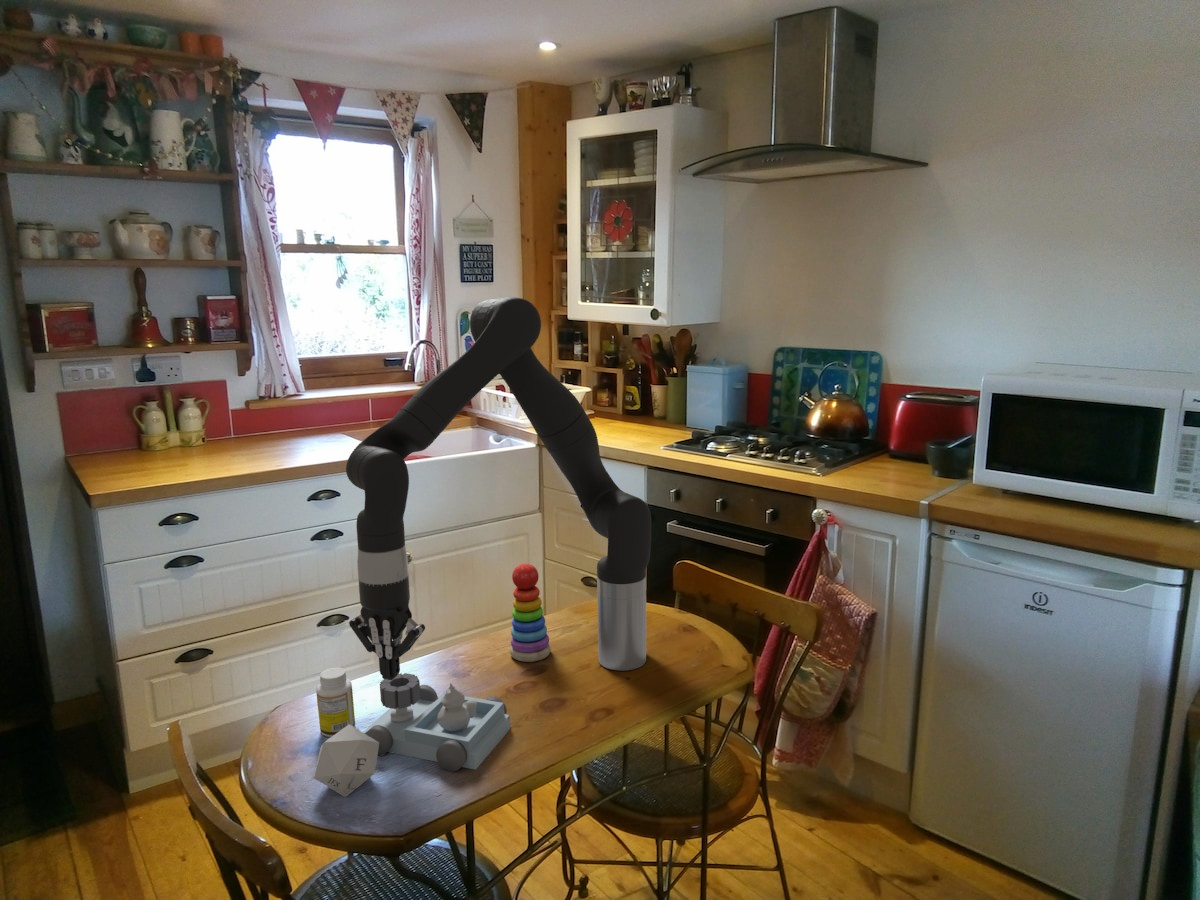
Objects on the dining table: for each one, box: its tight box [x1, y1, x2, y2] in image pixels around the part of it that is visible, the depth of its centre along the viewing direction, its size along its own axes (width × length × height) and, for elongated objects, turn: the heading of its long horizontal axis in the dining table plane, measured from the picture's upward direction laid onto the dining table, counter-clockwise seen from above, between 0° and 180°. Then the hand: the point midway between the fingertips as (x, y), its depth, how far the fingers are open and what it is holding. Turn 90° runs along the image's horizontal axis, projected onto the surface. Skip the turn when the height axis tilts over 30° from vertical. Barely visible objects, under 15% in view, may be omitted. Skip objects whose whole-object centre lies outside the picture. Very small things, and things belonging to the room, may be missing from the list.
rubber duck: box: [437, 682, 477, 732], centre depth 129 cm, size 5×7×8 cm
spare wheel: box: [379, 672, 421, 709], centre depth 133 cm, size 6×6×3 cm
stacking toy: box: [509, 563, 552, 663], centre depth 159 cm, size 8×8×19 cm
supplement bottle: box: [315, 667, 356, 738], centre depth 134 cm, size 6×6×10 cm
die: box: [313, 724, 379, 798], centre depth 119 cm, size 8×9×10 cm
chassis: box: [362, 684, 511, 773], centre depth 131 cm, size 15×20×6 cm
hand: (390, 677), depth 130 cm, fingers closed
